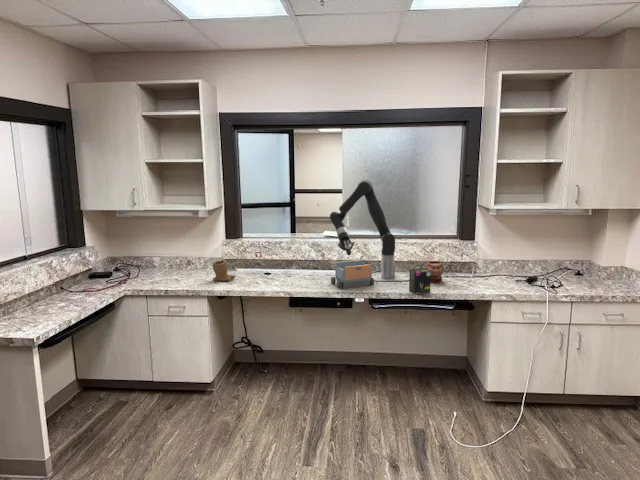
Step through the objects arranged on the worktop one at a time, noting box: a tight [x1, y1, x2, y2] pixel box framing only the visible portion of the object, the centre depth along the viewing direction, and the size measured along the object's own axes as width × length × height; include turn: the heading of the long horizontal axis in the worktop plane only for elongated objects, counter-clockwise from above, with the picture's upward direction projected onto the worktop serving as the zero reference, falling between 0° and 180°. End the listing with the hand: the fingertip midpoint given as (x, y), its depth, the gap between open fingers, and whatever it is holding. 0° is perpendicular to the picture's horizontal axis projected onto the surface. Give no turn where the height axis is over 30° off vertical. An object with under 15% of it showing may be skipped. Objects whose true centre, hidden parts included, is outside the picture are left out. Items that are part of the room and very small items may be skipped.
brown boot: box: [211, 259, 236, 282], centre depth 304 cm, size 15×12×15 cm
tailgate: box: [345, 263, 372, 280], centre depth 281 cm, size 19×2×9 cm, turn 110°
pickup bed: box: [330, 259, 375, 290], centre depth 290 cm, size 26×17×16 cm, turn 110°
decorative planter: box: [425, 260, 444, 284], centre depth 296 cm, size 20×12×14 cm, turn 177°
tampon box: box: [408, 267, 432, 295], centre depth 270 cm, size 11×9×15 cm
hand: (349, 254), depth 292 cm, fingers closed
